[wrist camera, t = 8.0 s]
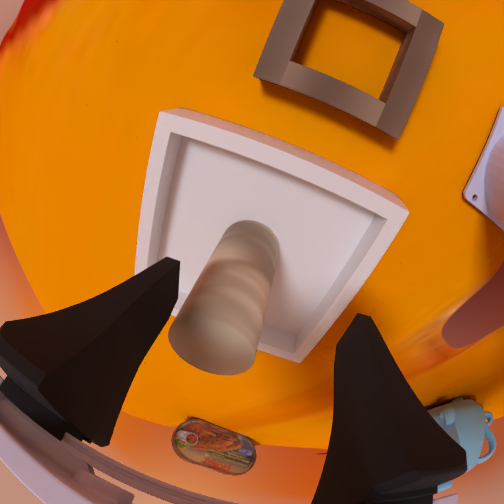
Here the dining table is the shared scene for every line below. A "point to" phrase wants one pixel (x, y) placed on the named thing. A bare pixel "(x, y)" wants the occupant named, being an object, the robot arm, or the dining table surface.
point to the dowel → (228, 302)
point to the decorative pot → (466, 429)
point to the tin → (213, 447)
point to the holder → (339, 93)
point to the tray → (264, 219)
